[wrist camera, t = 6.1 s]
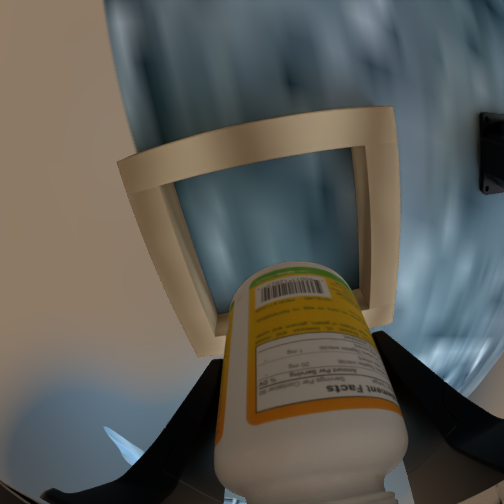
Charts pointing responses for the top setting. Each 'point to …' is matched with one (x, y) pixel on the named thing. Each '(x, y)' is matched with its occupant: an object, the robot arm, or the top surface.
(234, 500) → the top surface
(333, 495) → the supplement bottle
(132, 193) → the tan square frame
